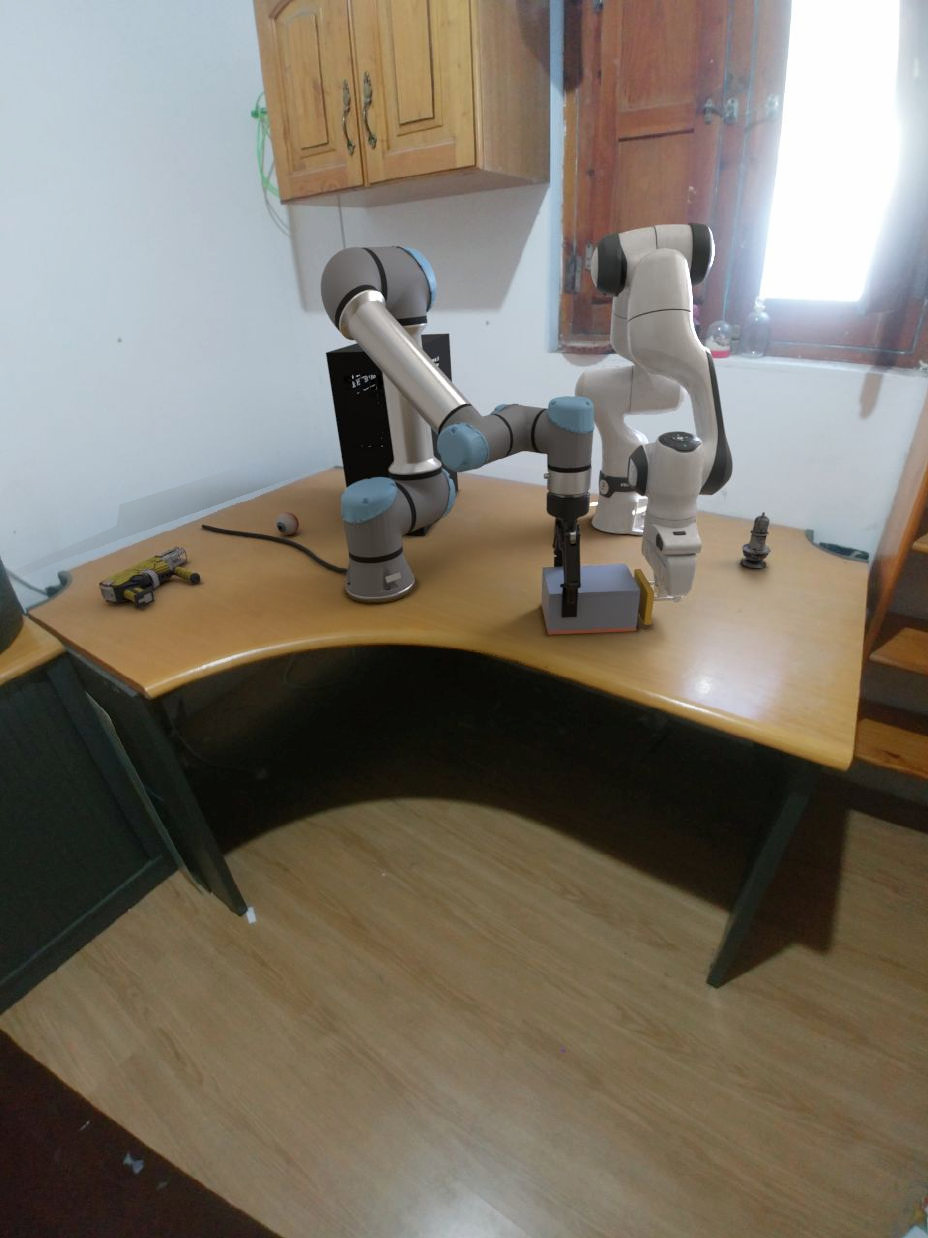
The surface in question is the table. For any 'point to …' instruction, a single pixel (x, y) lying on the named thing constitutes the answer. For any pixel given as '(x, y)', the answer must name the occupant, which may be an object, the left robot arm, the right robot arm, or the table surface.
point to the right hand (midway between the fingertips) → (660, 595)
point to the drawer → (648, 596)
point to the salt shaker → (757, 544)
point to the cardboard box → (373, 411)
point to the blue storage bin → (592, 600)
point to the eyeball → (287, 523)
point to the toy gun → (146, 578)
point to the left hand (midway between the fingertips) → (564, 600)
